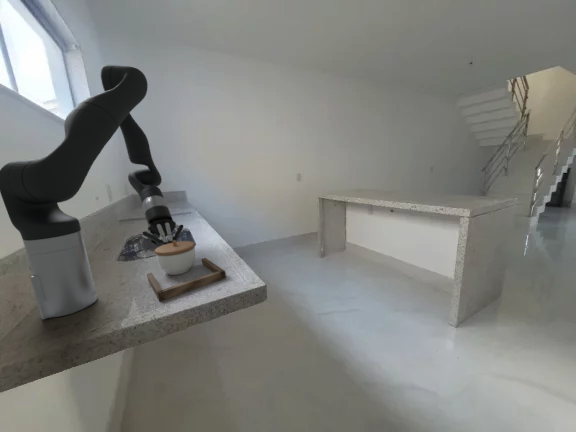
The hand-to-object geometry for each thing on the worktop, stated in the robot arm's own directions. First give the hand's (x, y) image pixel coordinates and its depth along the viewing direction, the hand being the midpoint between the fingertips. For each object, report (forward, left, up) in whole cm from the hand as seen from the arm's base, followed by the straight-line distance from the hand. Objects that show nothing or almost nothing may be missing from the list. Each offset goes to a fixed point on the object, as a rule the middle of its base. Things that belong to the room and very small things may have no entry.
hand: (171, 253), depth 75 cm
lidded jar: (0, -6, -4) cm, 7 cm away
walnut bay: (0, -13, -4) cm, 14 cm away
